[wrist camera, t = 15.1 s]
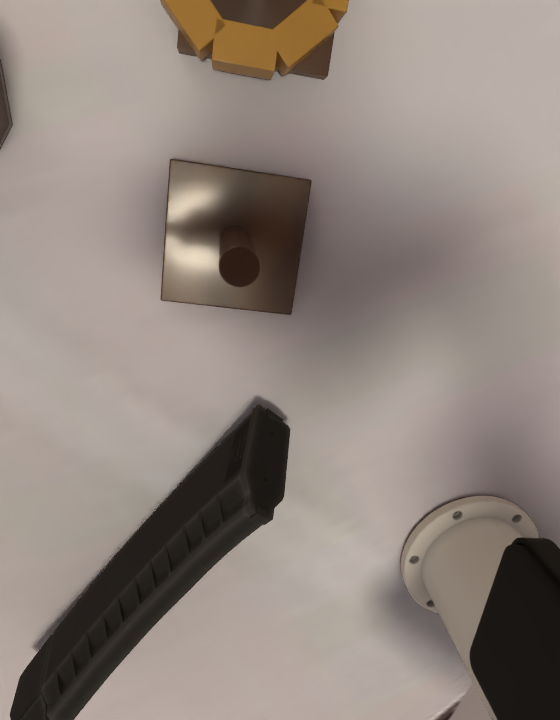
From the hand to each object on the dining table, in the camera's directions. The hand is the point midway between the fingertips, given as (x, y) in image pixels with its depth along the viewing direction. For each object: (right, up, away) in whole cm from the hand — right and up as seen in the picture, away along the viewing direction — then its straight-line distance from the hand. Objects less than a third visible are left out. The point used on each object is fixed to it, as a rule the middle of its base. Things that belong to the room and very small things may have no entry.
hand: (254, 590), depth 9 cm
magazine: (-10, -11, +33) cm, 36 cm away
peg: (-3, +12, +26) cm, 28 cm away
